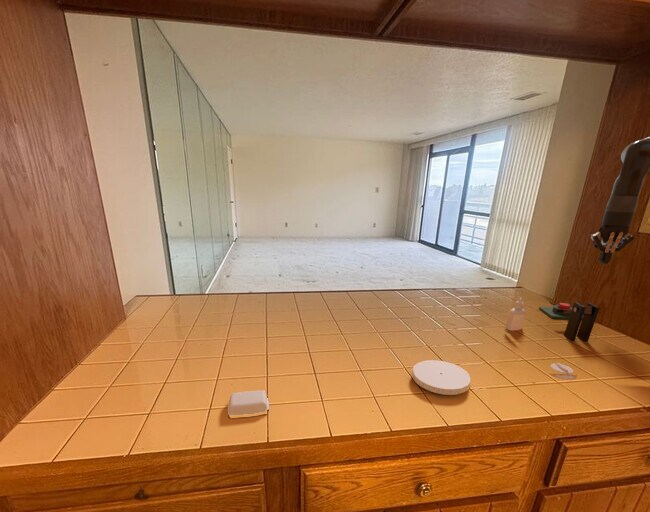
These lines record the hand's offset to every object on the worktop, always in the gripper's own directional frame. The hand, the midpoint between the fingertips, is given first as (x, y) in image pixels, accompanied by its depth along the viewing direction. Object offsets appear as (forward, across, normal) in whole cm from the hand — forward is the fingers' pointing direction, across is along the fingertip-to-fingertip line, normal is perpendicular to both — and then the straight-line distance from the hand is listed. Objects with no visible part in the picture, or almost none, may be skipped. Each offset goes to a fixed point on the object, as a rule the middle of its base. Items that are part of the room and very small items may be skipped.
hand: (603, 263), depth 118 cm
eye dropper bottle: (+22, -30, -11) cm, 38 cm away
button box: (+22, -6, +5) cm, 24 cm away
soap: (+20, -106, -64) cm, 125 cm away
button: (+19, -6, +5) cm, 20 cm away
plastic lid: (+21, -61, -48) cm, 80 cm away
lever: (+14, -12, -13) cm, 23 cm away
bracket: (+22, -12, -17) cm, 31 cm away
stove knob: (+22, -27, -38) cm, 52 cm away
